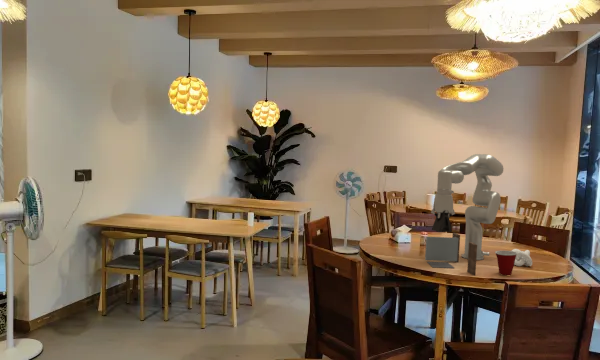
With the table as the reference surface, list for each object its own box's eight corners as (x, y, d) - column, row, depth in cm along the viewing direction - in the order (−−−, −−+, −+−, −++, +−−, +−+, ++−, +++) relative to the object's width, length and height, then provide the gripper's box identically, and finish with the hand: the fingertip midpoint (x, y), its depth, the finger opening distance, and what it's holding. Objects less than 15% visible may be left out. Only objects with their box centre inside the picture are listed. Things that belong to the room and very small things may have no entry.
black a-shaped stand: (438, 232, 242) (440, 210, 241) (431, 230, 248) (433, 208, 247) (451, 231, 245) (453, 210, 245) (444, 229, 251) (446, 209, 250)
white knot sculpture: (512, 261, 262) (513, 246, 262) (535, 265, 255) (536, 250, 254) (507, 265, 254) (508, 249, 253) (530, 269, 246) (531, 253, 245)
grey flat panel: (457, 261, 254) (458, 238, 253) (425, 260, 254) (426, 236, 253) (455, 260, 256) (457, 237, 255) (424, 259, 256) (425, 236, 255)
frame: (454, 259, 263) (455, 232, 262) (475, 275, 228) (477, 244, 227) (450, 259, 263) (452, 232, 262) (471, 275, 228) (473, 244, 227)
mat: (447, 263, 253) (447, 262, 253) (454, 268, 241) (454, 267, 241) (426, 262, 253) (426, 261, 253) (432, 267, 241) (432, 266, 241)
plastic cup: (493, 270, 240) (494, 248, 239) (515, 273, 236) (516, 250, 235) (494, 275, 230) (495, 252, 229) (517, 278, 226) (518, 255, 225)
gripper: (456, 192, 248) (454, 224, 250) (427, 191, 249) (425, 223, 250) (461, 193, 241) (459, 226, 242) (431, 192, 241) (429, 225, 243)
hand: (442, 224), depth 246 cm, fingers closed on black a-shaped stand, 3 cm apart
